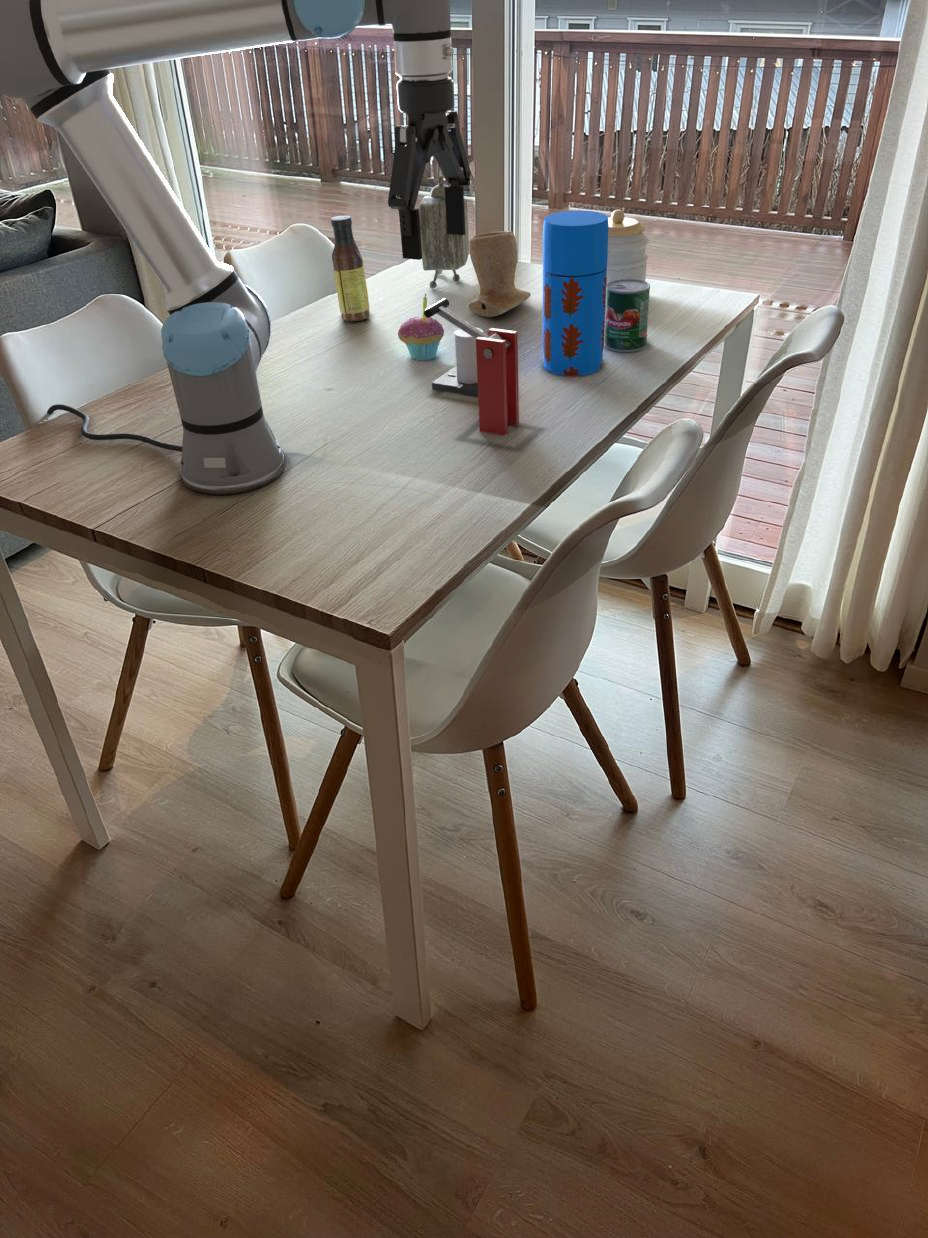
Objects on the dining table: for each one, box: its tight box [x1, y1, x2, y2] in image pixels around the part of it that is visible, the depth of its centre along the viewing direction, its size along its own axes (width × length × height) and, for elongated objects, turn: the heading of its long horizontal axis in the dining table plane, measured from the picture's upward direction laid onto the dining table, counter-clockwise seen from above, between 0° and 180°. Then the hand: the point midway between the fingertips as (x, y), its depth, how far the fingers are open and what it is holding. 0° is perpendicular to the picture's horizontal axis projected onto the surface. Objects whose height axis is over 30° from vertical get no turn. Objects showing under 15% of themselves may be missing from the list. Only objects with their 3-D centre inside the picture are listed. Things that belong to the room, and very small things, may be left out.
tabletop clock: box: [418, 164, 470, 290], centre depth 205 cm, size 14×9×25 cm, turn 174°
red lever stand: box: [476, 327, 520, 437], centre depth 141 cm, size 10×8×16 cm
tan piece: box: [467, 230, 532, 318], centre depth 191 cm, size 15×12×15 cm
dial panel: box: [431, 366, 478, 398], centre depth 159 cm, size 11×9×3 cm
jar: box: [606, 209, 650, 285], centre depth 191 cm, size 13×13×18 cm
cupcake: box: [397, 293, 445, 361], centre depth 171 cm, size 9×8×12 cm
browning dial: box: [454, 327, 485, 384], centre depth 155 cm, size 5×5×8 cm
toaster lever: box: [424, 298, 511, 353], centre depth 138 cm, size 13×6×2 cm, turn 61°
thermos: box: [542, 210, 609, 377], centre depth 160 cm, size 11×11×25 cm
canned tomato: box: [604, 279, 651, 353], centre depth 171 cm, size 8×8×11 cm
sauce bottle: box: [330, 215, 371, 322], centre depth 189 cm, size 7×6×20 cm
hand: (435, 245), depth 134 cm, fingers open, 13 cm apart
